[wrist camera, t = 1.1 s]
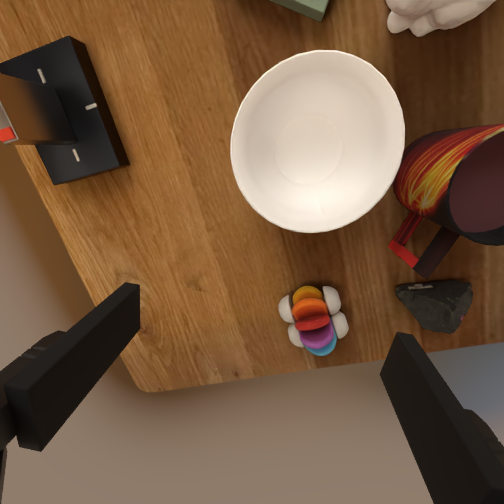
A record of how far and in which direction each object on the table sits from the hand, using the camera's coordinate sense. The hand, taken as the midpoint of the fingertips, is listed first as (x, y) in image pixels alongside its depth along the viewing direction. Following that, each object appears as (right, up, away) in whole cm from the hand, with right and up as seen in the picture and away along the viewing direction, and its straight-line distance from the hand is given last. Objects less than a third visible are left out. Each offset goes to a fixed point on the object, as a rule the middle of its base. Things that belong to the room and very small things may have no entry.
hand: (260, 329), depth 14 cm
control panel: (-23, +21, +21) cm, 38 cm away
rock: (+24, -3, +25) cm, 35 cm away
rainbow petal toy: (+9, -5, +27) cm, 29 cm away
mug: (+22, +11, +20) cm, 31 cm away
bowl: (+6, +16, +20) cm, 26 cm away
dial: (-23, +20, +19) cm, 36 cm away
